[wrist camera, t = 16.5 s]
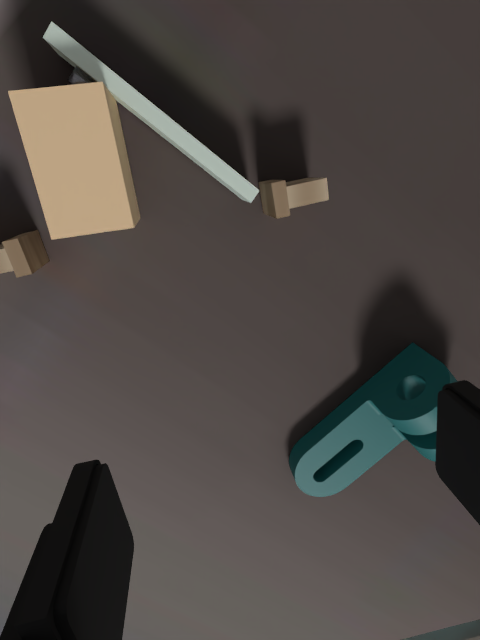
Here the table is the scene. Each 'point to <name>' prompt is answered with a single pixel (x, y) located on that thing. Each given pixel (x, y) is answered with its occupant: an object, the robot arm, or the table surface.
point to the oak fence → (276, 198)
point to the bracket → (373, 424)
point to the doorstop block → (77, 158)
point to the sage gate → (145, 110)
